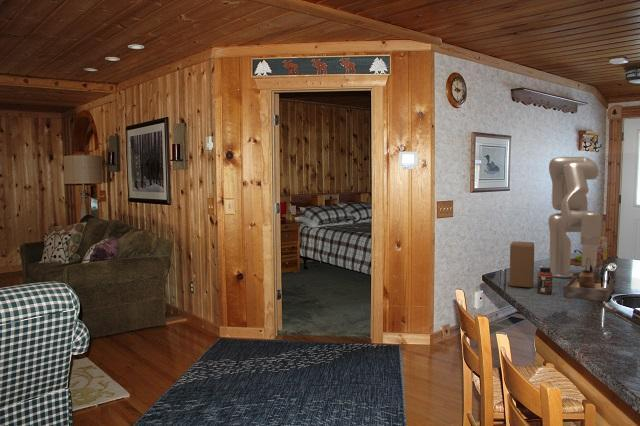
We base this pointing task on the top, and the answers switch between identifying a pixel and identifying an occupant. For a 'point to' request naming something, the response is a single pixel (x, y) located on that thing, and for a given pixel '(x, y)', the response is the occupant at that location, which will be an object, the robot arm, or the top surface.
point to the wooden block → (522, 264)
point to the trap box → (588, 290)
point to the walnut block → (586, 279)
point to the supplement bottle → (544, 281)
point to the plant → (578, 260)
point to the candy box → (602, 249)
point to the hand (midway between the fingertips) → (589, 283)
